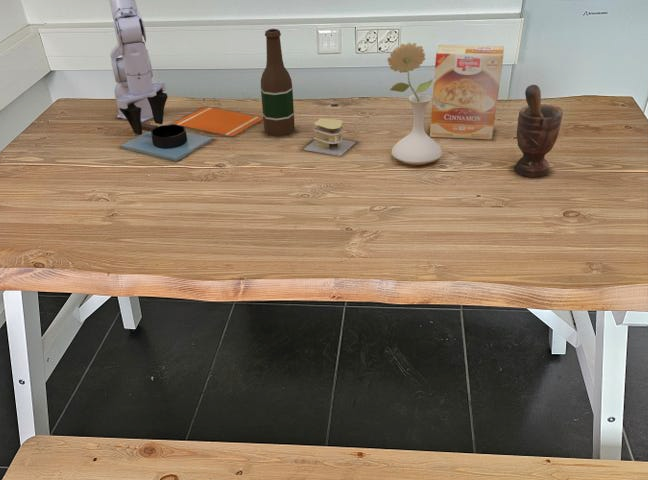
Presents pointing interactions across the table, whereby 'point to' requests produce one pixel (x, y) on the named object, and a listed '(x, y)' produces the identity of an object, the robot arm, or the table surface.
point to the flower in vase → (416, 143)
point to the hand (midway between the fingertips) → (148, 128)
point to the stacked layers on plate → (329, 138)
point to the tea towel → (218, 121)
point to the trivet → (175, 154)
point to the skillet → (166, 135)
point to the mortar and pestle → (536, 133)
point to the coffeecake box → (465, 91)
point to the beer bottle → (276, 90)
